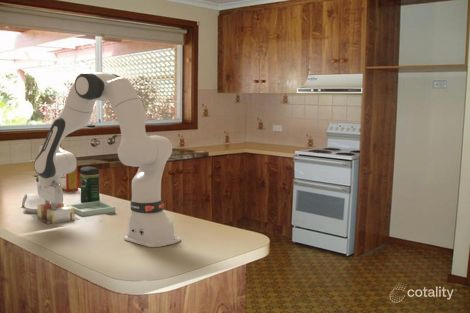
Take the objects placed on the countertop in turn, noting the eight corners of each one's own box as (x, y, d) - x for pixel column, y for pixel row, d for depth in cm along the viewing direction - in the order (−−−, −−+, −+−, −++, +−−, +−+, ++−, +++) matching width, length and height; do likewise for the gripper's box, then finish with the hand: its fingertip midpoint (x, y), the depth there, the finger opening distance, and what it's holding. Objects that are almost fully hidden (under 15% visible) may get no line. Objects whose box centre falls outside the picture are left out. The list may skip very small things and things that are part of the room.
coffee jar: (102, 203, 239) (101, 167, 237) (88, 206, 233) (87, 168, 231) (92, 200, 245) (91, 164, 243) (78, 202, 239) (77, 166, 237)
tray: (115, 213, 220) (115, 206, 220) (82, 218, 209) (82, 211, 209) (99, 206, 232) (99, 200, 231) (67, 211, 221) (67, 205, 221)
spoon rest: (56, 213, 218) (55, 198, 217) (29, 217, 210) (29, 201, 209) (38, 204, 235) (38, 190, 234) (13, 207, 228) (12, 193, 227)
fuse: (63, 214, 212) (63, 203, 211) (41, 217, 205) (40, 206, 204) (60, 212, 215) (60, 201, 214) (37, 216, 208) (37, 204, 207)
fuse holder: (80, 221, 204) (80, 207, 203) (47, 227, 195) (47, 212, 194) (62, 213, 218) (62, 200, 217) (31, 217, 209) (30, 204, 208)
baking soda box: (78, 190, 271) (77, 162, 269) (67, 191, 267) (66, 163, 265) (70, 187, 278) (70, 160, 276) (59, 188, 274) (59, 161, 272)
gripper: (66, 182, 202) (67, 214, 204) (48, 175, 217) (49, 205, 219) (51, 183, 198) (52, 216, 200) (34, 177, 213) (35, 207, 215)
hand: (50, 210), depth 210 cm, fingers closed on fuse, 4 cm apart
